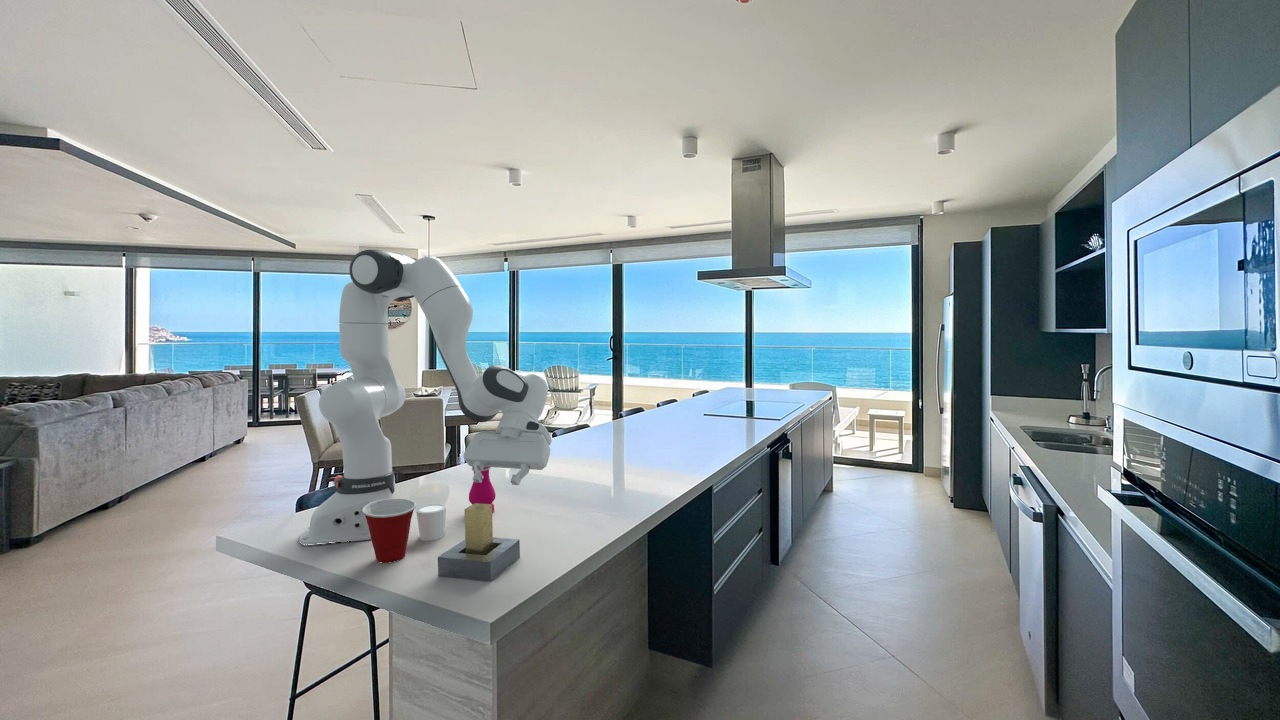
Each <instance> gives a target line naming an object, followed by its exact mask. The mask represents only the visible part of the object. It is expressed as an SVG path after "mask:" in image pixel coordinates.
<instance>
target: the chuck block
mask: <svg viewBox="0 0 1280 720" xmlns="http://www.w3.org/2000/svg"><path fill="white" fill-rule="evenodd" d="M520 544H521V542H520V539H517V538H505V537H496V536H495V537H494V536H493V550H492V551H491V552H490V553H488V554H487V555H476V554H466V542H465V539H463V540H462V541H460V542H459V543H457V544H456V545H454V546H453V547H451V548H450V549H448V550H447V551H444V552H442V554H440V555H438V556H437V576H438V578H439V577H441V578H449V579H456V580H457V579H459V580H469V581H477V582H487V583H492V582H493V581H495V580H496V579H497V578H498V577H499V576H500V575H501V574H502V573H504V572H505V571H506V570H507V569H508V568H509V567H510V566H512V565H513V564H514V563H515V562H517V561H518V560H519V559H520V558H521V548H520V547H521V545H520Z"/></svg>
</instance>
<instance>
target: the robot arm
mask: <svg viewBox="0 0 1280 720" xmlns="http://www.w3.org/2000/svg"><path fill="white" fill-rule="evenodd" d="M348 273H349V277H350V280H351V281H350V282H348V283H347V284H345V285H344V287H343V289H342V292H341V298H340V304H339V315H338V316H339V317H338V318H339V319H338V323H339V325H338V326H339V353H340V356H341V357H342V359H344V360H345V361H346V363H348V366H349V367H350V370H351V373H352V377H353V378H352V379H351V378H350V379H345V380H341V381H338V382H336V383H334V384H332V385H330V386H328V387H326V388H325V389H324V390H323V391H322V392H321V394H320V397H319V400H318V408H319V411H320V413H321V416H322V417H323V418H324V419H325V420H326V421H328V422H329V423H330V424H331V425H332V426H333V428H334V429H335V431H336V433H337V436H338V438H339V441H340V445H341V450H342V462H343V463H342V464H343V475H336V476H335V478H334V480H333V481H334V490H335V491H334V492H335V493H333V494H332V495H331V496H330V497H328V498H327V499H326V500H324V501H323V502H322V503H321V504H320V505H319V506H317V508H316V509H314V511H313V513H312V515H311V518H310V522H309V526H308V527H306V528H305V529H304V530H302V532H301V533H300V535H299V541H300V542H301V543H302V544H305V545H306V544H307V545H308V544H317V543H329V542H341V543H349V541H351V542H357V541H358V542H359V541H369V540H371V536H370V531H369V527H368V524H367V519H366V517H365V515H364V513H363V512H362V510H363V507H365V506H366V505H367V504H370V503H372V502H375V501H379V500H384V499H393V498H395V492H396V491H395V490H396V477H395V471H394V470H393V461H392V459H393V458H392V443H391V440H390V439H389V438H388V437H386V436H385V435H384V433H383V430H382V429H381V425H380V422H379V418H383V417H387V416H390V415H392V414H393V413H395V412H396V411H398V410H399V409H400V408H401V407H403V406H404V403H405V400H406V390H405V386H404V385H403V384H402V383H401V382H400V381H399V379H398V378H397V376H396V374H395V371H394V367H393V363H392V360H391V356H390V343H389V317H388V312H389V305H390V304H391V303H392V302H393V301H395V302H397V303H400V302H403V301H406V300H408V299H412V298H414V299H415V301H416V302H417V303H418V305H419V307H420V308H421V311H422V312H423V314H424V315H425V318H426V320H427V322H428V324H429V326H430V328H431V331H432V334H433V337H434V340H435V344H436V347H437V350H438V353H439V355H440V357H441V359H442V362H443V364H444V366H445V368H446V370H447V372H448V375H449V377H450V378H451V381H452V383H453V385H454V387H455V390H456V393H457V401H458V406H459V409H460V410H461V412H462V414H463V415H464V416H465V417H466V418H467V419H468V420H471V421H473V422H476V423H487V422H489V421H492V420H494V418H495V417H496V415H497V414H498V413H499V412H502V416H501V418H500V421H499V422H498V425H497V427H496V428H495V430H486V429H483V430H481V431H479V432H477V433H475V434H474V436H473V437H472V440H471V441H470V442H469V444H468V445H467V447H466V448H465V451H464V452H463V459H464V461H465V462H466V464H467V465H468V466H469V467H472V466H474V471H475V474H474V473H473V476H472V482H473V481H474V482H476V483H481V482H482V480H483V478H484V476H483V475H482V474H481V473H480V470H483V468H484V467H491V468H498V469H499V468H500V469H515V470H516V469H518V470H519V471H518V472H516V474H512V475H511V478H510V484H511V485H514V486H520V483H521V481H522V480H523V479H524V477H526V476H527V475H528V474H529V472H530V470H536V471H543V470H544V469H545V468H546V467H547V465H548V463H549V459H550V455H551V446H550V445H551V444H552V442H553V440H552V437H551V435H550V434H551V433H549V431H548V429H547V428H546V426H545V425H544V424H543V423H542V422H541V423H540V422H538V421H539V418H540V417H541V416H542V415H543V412H544V408H545V406H546V402H547V399H548V393H549V389H548V388H549V387H548V385H547V382H546V381H545V379H544V378H543V377H542V376H540V375H538V374H537V373H535V372H518V371H514V370H512V369H511V368H510V367H507V366H505V365H501V364H494V365H491V366H489V367H487V368H486V369H485V370H484V371H483V372H482V373H480V374H479V376H478V373H477V371H476V369H475V367H474V365H473V362H472V360H471V359H470V355H469V354H468V350H467V338H468V334H469V329H470V327H471V323H472V321H473V316H474V311H473V310H474V309H473V307H472V306H473V305H472V303H471V301H470V298H469V296H468V295H467V293H466V292H465V289H464V288H463V286H462V284H461V283H460V282H459V280H458V278H457V277H456V276H455V274H453V272H452V271H451V269H449V267H448V266H447V265H446V264H445V263H444V262H443V261H442V260H441V258H438V257H435V256H424V257H420V258H418V259H416V258H414V257H410V256H407V255H405V254H403V253H399V252H394V251H393V252H391V251H383V250H381V249H377V248H376V249H364V250H362V251H359V252H357V253H356V254H355V255H354V256H353V257H352V259H351V261H350V264H349V272H348ZM474 471H473V472H474ZM347 541H348V542H347ZM300 542H299V543H300Z"/></svg>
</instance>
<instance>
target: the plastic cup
mask: <svg viewBox="0 0 1280 720" xmlns="http://www.w3.org/2000/svg"><path fill="white" fill-rule="evenodd" d="M416 508H417V503H416V501H414V500H412V499H408V498H403V497H402V498H398V497H394V498H393V499H384V500H379V501H375V502H372V503H370V504H367V505H366V506H365V507H363V510H362V512H363V513H364V515H365V517H366V519H367V524H368V527H369V531H370V536H371V539H370V540H371V543H372V548H373V550H374V556H375V559H376V562H377V563H379V562H382V563H381V564H390V563H389V562H391V563H395V562H394V561H396V562H398V561H397V560H399V561H400V559H401V560H403V559H404V558H405V557H406V554H407V546H408V542H409V535H410V529H411V523H412V518H413V514H414V512H415V509H416ZM403 557H404V558H403ZM402 558H403V559H402Z"/></svg>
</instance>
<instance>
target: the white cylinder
mask: <svg viewBox="0 0 1280 720" xmlns="http://www.w3.org/2000/svg"><path fill="white" fill-rule="evenodd" d="M415 511H416V512H415V513H416V517H417V526H418V533H419V539H420V540H421V541H424V540H425V542H427V541H435V540H439V539H441V537H442V538H443V537H444V536H445V532H446V531H445V530H446V518H447V517H446V512H447V506H446V505H444V504H440V503H439V504H428V505H423V506H421V507H419V508H417V509H416V510H415Z"/></svg>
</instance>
